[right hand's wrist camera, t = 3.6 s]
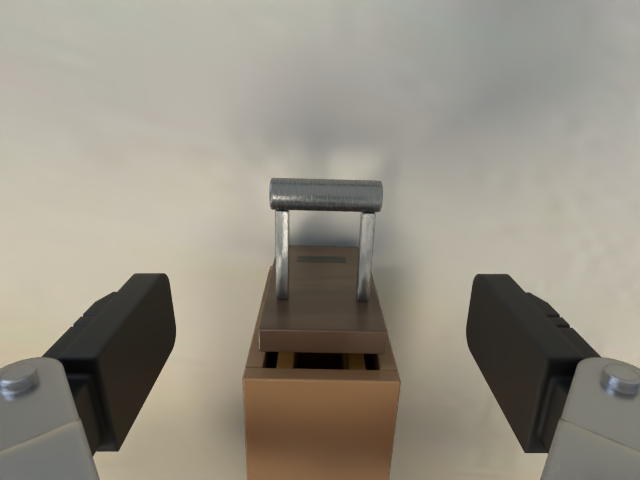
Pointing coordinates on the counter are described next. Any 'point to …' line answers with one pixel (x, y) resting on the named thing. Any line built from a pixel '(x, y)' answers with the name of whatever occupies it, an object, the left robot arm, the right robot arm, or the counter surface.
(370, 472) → the cabinet
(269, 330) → the drawer
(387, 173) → the counter surface
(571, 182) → the counter surface
